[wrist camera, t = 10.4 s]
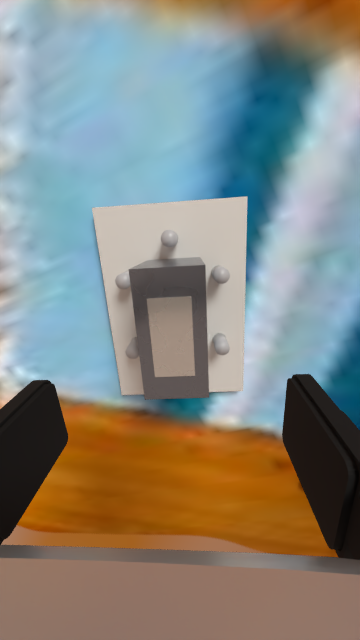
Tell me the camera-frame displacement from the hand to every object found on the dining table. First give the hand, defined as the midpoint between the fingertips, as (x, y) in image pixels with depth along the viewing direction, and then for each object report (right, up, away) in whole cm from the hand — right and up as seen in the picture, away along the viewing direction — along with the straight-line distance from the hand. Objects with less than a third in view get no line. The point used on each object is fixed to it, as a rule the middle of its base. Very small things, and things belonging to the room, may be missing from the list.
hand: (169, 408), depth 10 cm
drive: (0, +5, +15) cm, 16 cm away
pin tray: (0, +5, +16) cm, 17 cm away
